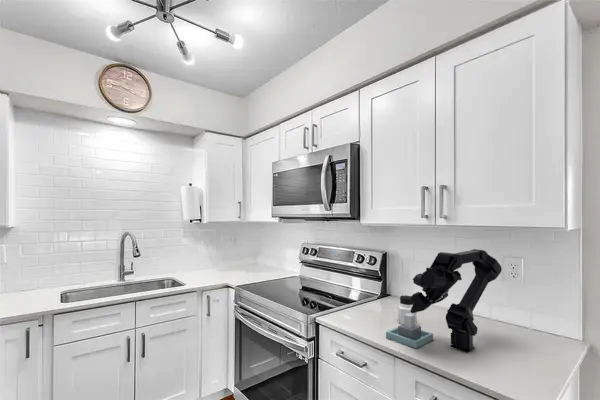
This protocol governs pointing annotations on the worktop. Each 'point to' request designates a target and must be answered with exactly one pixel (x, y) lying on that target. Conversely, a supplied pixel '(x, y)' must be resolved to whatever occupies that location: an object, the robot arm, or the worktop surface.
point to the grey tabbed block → (409, 328)
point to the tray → (424, 339)
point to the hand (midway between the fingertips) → (417, 308)
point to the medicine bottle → (405, 307)
